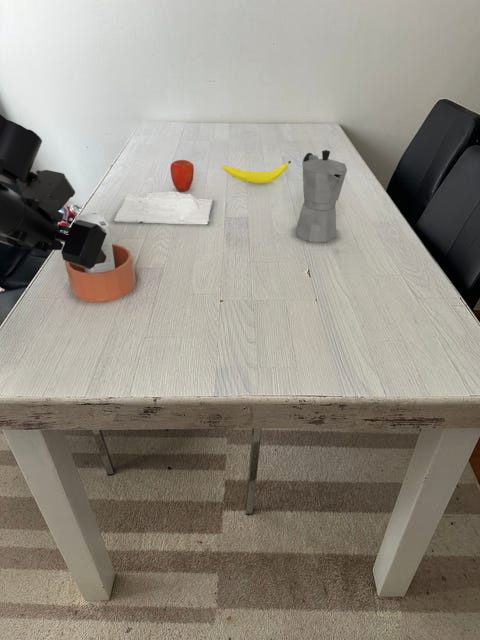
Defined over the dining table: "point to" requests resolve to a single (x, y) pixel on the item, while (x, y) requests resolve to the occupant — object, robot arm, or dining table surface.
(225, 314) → the dining table surface
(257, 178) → the banana
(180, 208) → the terrain model
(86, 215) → the cosmetic box
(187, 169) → the red rounded piece
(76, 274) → the crock
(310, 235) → the coffeepot
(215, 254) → the dining table surface
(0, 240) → the robot arm
